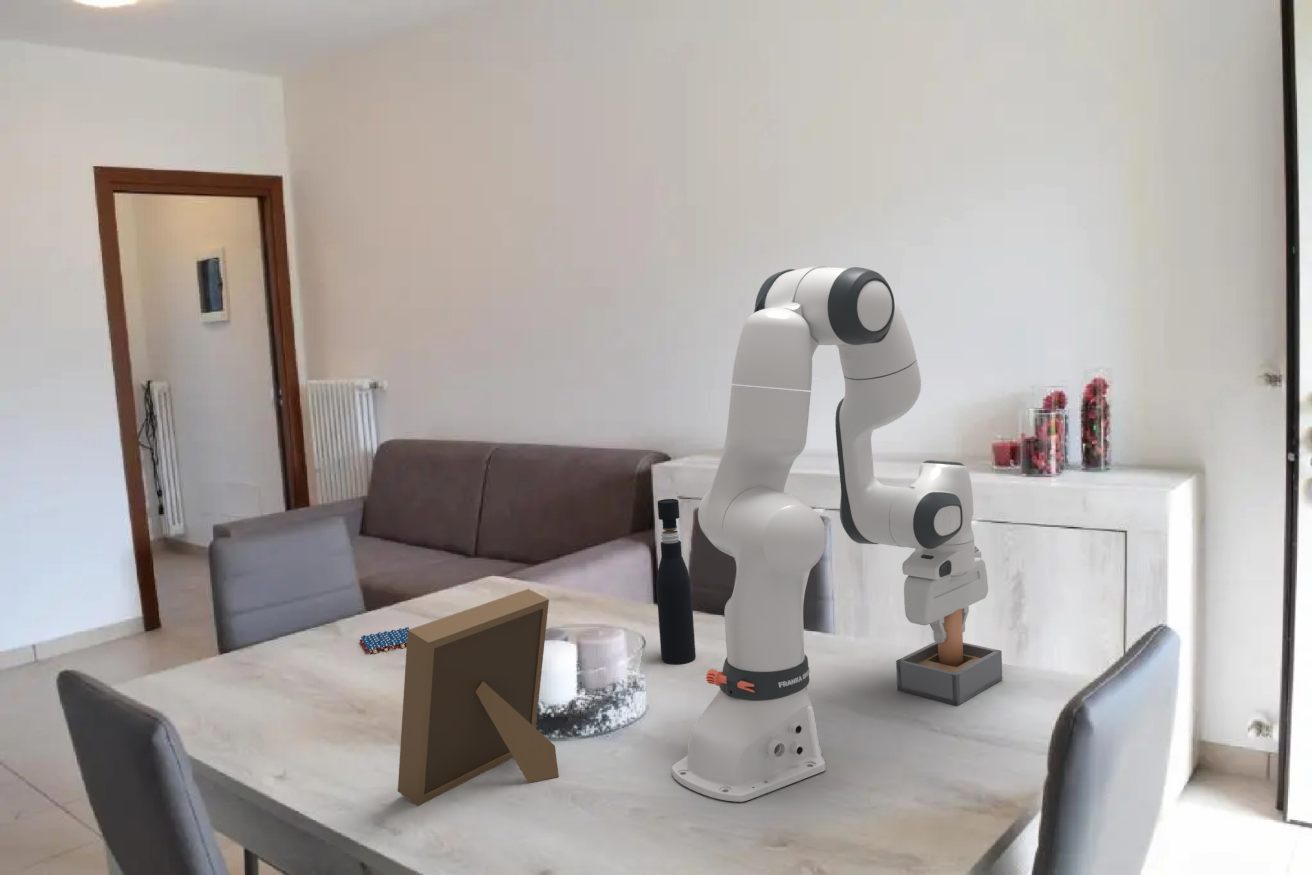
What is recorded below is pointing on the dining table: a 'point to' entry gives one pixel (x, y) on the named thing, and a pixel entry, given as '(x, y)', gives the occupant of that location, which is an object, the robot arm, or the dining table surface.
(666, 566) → the black bottle
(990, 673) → the bore box
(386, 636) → the woven mat
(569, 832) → the dining table surface
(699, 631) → the dining table surface
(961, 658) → the peg
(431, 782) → the photo frame
